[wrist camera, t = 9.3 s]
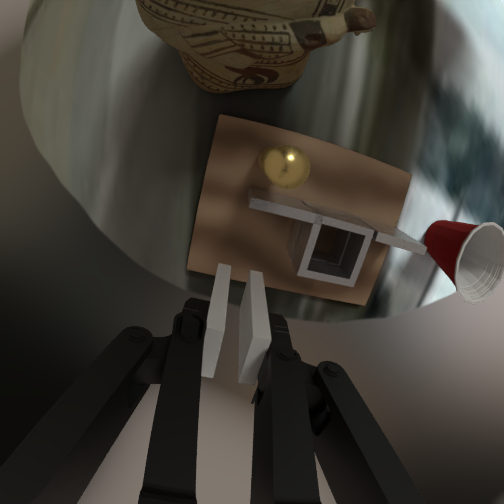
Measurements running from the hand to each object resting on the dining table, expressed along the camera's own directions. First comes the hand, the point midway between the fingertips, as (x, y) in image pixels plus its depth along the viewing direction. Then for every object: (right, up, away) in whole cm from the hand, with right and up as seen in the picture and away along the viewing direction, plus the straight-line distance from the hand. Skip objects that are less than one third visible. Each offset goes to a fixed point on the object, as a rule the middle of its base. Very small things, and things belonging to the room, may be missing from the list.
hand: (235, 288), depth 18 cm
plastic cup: (+30, +5, +21) cm, 37 cm away
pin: (+3, +13, +16) cm, 21 cm away
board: (+7, +7, +19) cm, 22 cm away
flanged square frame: (+6, +5, +18) cm, 20 cm away
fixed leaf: (+13, +4, +19) cm, 24 cm away
